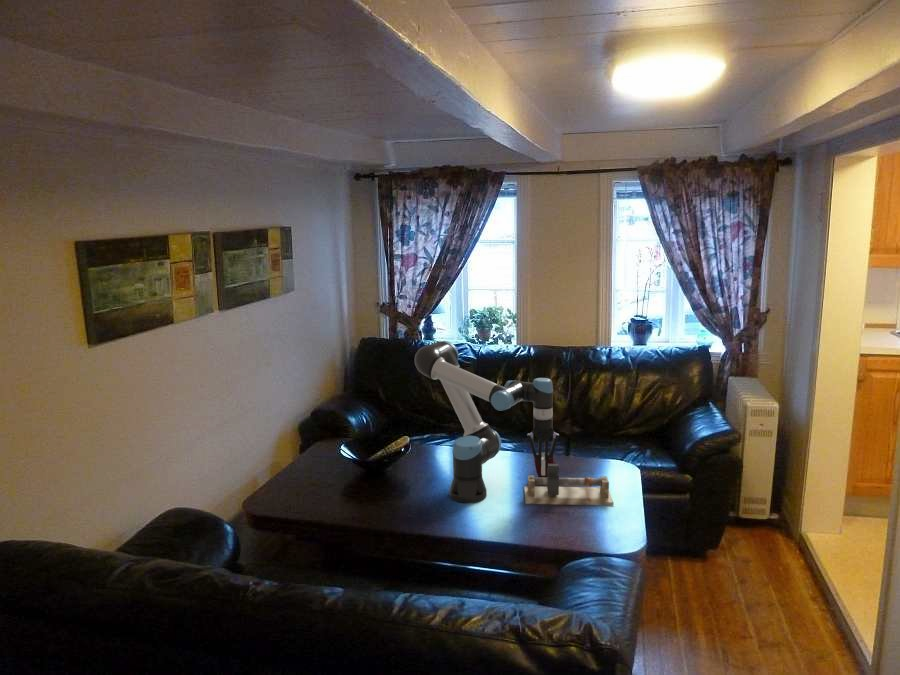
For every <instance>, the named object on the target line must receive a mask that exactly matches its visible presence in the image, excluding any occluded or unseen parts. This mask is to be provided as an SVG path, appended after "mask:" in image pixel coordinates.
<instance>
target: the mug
mask: <svg viewBox="0 0 900 675" xmlns="http://www.w3.org/2000/svg"><path fill="white" fill-rule="evenodd" d="M536 453H537V454H538V452H536ZM549 453H550V452H548V454H549ZM542 457H545V451H544V452H543V451H542ZM548 464H558V463H556V462H555V461H554V456H553V457H552V458H549V459H548ZM534 466H535V471H536V474H537V477H547V468H548V467H545V475H541V467H539V466H538V458H534ZM559 470H560V468H559V465H558V471H559Z"/></svg>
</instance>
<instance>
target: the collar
mask: <svg viewBox="0 0 900 675" xmlns="http://www.w3.org/2000/svg"><path fill="white" fill-rule="evenodd" d="M558 466H559V464H558V463H557V464H548V468H547V478H548V485H546V487H547V489H548V495H559V487H560V485H559V478H560V474H559V470H558Z"/></svg>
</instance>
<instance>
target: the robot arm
mask: <svg viewBox="0 0 900 675" xmlns="http://www.w3.org/2000/svg"><path fill="white" fill-rule="evenodd" d="M459 356H460V355H459V351H458V349H457V347H456V346H455V345H454V344H453V343H452V342H449V341H446V340H442V341H436V342H433V343H431V344H428V345H424V346H422V347H420V348H419V349H418V350H417V352H416V353H415V355H414V359H413V360H414V365H415V367H416V369H417V371H418V372H419V373H421V374H422V376H423V375H424V376H425V377H427V378H429V379H432V380H435V381H436V380H439V381H440V383H441V385H442V387H443V389H444V390H445V393H446V395H447V397H448V399H449V402H450V403H451V405H452V407H453V410H454V412H455V414H456V415H457V417H458V420H459V421H460V423H461V426H462V428H463V431H464V433H463V436H461V437H459V438H457V439H456V440H454V441H453V445H452V465H453V466H452V470H453V471H452V472H453V478H452V481H451V483H450V487H449V491H448V492H449V497H450V499H451V500H453V501H456V502H458V503H463V504H466V503H467V504H470V503H472V504H473V503H479V502H480V501H483V500H484V499H486V498H487V496H488V494H487V487H486V484H485V480H484V478H483V465H484V464H485V463H487V462H488V461H489V460H491V459H493V458H495V457H496V456H497V455H498V453H499V452H500V451H501V447H502V438H501V436H500V434H499V433H498V432H497V431H496V430H494V429H493V428H491V427H490V425H489V423H486V422H485V421H484V420H483V419H482V416H481V414H480V413H479V411H478V408H477V406H476V405H475V402H474V400H473V399H472V398H473V397H471V395H474V396H476V397H478V398H480V399H483V400H485V401H486V402H489V403H490V404H491V406H492V407H493V408H494V409H495V410H497V411H498V412H499V411H500V412H502V411H503V412H504V411H505V410H510V409H511V407H513V406H515V405H517V404H519V403H520V402H530V403H531V402H532V404H533V405H532V406H533V407H532V408H533V416H532V417H533V425H532V426H533V428H532V430H531V432H530V433H529V432H528V433H527V434H526V438H527V440H529V442H530V447H531V452H532V454H533V457H534V459H535V458H538V466H539V467H541V475H545V467H548V459H549V458H552V457H553V458H554V453H555V449H556V446H557V442H558V440H559V438H560V434H559V433H557V432H555V430H554V427H553V426H554V425H553V424H554V422H553V421H554V420H553V417H554V416H553V414H554V413H553V409H554V408H553V407H554V405H553V402H554V401H553V400H554V398H553V397H554V396H553V395H554V394H553V393H554V387H553V386H554V385H553V381H552V380H551V379H550V378H548V377H547V378H546V377H537V378H534V379H533V382H527V381H521V380H520V381H519V380H507V381H506V383H505V384H504V386H503V385H501V384H498V383H495V382H493V381H491V380H489V379H486V378H484V377H481V376H479V375H477V374H474V373H472V372H470V371H468V370H465V369H463V368H461V366H460V364H459V362H458V361H459ZM534 437H535V439H536V440H537V441H538V442H537V445H538V446H537V450H536V447H535V446H536V445H535V442H534ZM551 437H552V442H551V446H550V449H549V440H550V439H551ZM542 441H544V452H545V457H542V452H543V451H542V448H543V447H542V446H543V444H542V443H543V442H542ZM549 450H550V451H549ZM537 453H538V454H537ZM548 453H549V454H548Z"/></svg>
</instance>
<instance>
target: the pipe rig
mask: <svg viewBox="0 0 900 675" xmlns="http://www.w3.org/2000/svg"><path fill="white" fill-rule="evenodd" d="M547 485H548V478H547V477H539V476H537V477H536V476H535V475H533V474H531V475H529V474H528V475H527V486H525V485H524V488H523V489H524V500H525V504H526V505H568V506H570V505H572V506H573V505H574V506H575V505H579V506H580V505H581V506H614V500H613V497H612V495H611V492H610V490H609V488H610V481H609V479H608V476H605V475H601V476H600V477H586V476H585V477H559V495H548V489H547Z"/></svg>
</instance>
